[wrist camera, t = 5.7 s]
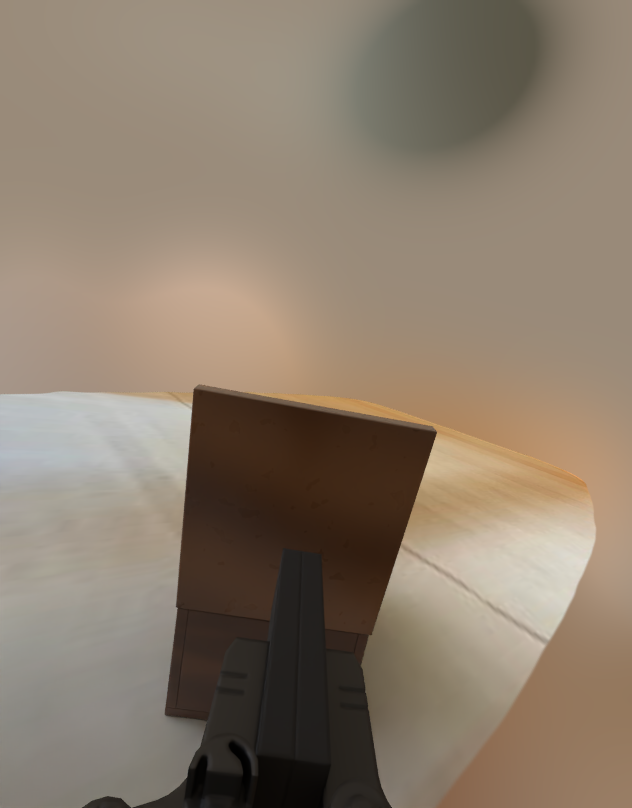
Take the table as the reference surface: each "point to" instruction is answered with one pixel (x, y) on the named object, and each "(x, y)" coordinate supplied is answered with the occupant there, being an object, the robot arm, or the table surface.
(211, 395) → the lid
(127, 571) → the table surface
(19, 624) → the table surface
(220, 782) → the robot arm
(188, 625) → the tea box
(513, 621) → the table surface
